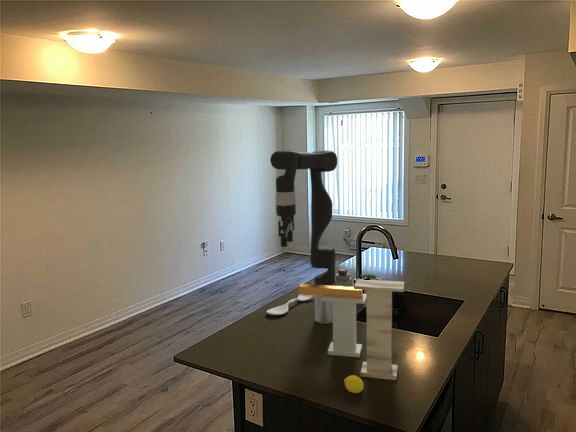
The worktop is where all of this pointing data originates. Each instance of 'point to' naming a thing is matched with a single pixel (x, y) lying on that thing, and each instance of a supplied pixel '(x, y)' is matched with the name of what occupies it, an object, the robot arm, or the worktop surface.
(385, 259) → the worktop surface
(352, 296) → the wooden block
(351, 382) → the lemon
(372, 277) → the plant pot
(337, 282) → the perfume bottle
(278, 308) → the spoon
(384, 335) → the tall pedestal
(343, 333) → the white i-beam column
